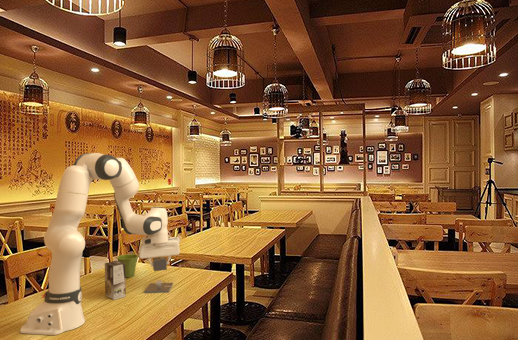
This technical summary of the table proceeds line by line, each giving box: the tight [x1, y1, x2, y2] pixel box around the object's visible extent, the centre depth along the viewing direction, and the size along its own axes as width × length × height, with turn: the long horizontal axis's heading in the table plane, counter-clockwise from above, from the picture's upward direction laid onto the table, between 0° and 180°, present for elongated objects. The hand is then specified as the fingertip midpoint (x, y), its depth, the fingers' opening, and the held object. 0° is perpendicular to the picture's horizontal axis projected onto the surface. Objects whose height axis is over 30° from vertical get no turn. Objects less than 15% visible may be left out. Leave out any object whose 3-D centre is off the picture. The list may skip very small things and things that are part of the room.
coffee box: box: [104, 260, 127, 301], centre depth 182 cm, size 9×6×16 cm
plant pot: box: [116, 253, 139, 279], centre depth 213 cm, size 12×12×11 cm
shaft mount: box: [143, 279, 174, 294], centre depth 192 cm, size 12×12×4 cm
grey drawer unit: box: [152, 256, 168, 272], centre depth 192 cm, size 6×6×6 cm
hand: (159, 265), depth 192 cm, fingers closed on grey drawer unit, 6 cm apart
